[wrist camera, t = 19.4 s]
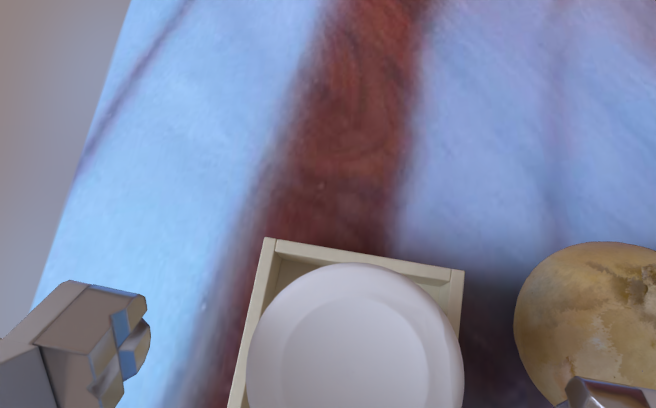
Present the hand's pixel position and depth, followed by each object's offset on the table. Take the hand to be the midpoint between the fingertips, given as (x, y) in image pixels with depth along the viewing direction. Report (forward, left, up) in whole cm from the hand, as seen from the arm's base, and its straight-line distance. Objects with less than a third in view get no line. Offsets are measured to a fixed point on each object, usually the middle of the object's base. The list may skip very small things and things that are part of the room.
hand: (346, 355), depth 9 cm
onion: (+11, +2, -15) cm, 19 cm away
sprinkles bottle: (0, 0, -14) cm, 14 cm away
